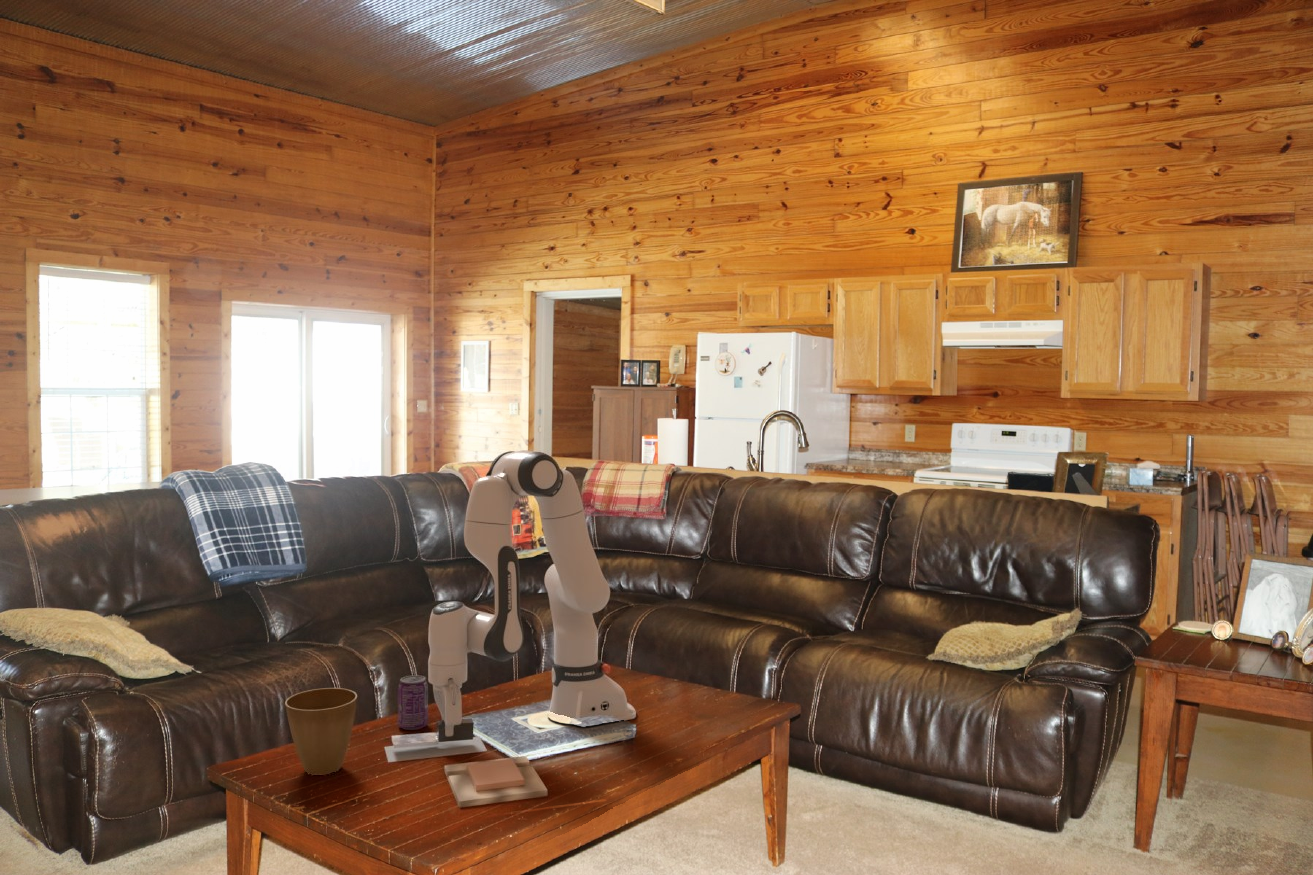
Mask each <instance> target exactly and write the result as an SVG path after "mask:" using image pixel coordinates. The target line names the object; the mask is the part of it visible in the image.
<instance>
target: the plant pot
mask: <svg viewBox="0 0 1313 875" xmlns="http://www.w3.org/2000/svg"><path fill="white" fill-rule="evenodd" d="M357 699H358V694H357V692H356V691H353V690H352V689H347V688H343V687H342V688H341V687H325V688H317V689H316V688H315V689H310V690H305V691H301V692H298V693H295V694H293V695H290V696H289V697H288V698H286V700H285V702H284V703H285V704H284V705H285V711H286V717H287V722H288V724H289V730H290V733H291V737H292V740H293V743H294V746H295V749H296V752H297V755H298V758H299V760H300V763H301V766H302V767H303V769H304V771H305V773H306V772H307V773H309V774H317V775H318V774H329V775H331V774H330V773H332V772H335V773H337V772H338V771H339V769H340V770H341V768H342V766H343V763H344V760H345V758H346V757H345V756H346V754H347V751H348V747H349V744H350V739H351V736H352V732H353V728H354V727H353V726H354V722H355V715H356V708H357ZM336 771H337V772H336ZM307 773H306V774H307ZM309 774H308V775H309ZM332 774H333V773H332Z"/></svg>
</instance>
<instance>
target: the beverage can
mask: <svg viewBox="0 0 1313 875" xmlns="http://www.w3.org/2000/svg"><path fill="white" fill-rule="evenodd" d="M397 688H398V690H397V693H398V694H397V696H398V697H397V708H398V710H397V711H398V712H397V713H398V715H397V718H398V719H397V720H398V721H397V723H398V724H397V725H398V727H399V728H402V729H403V730H406V731H417V730H421V729H422V728H424V727H425V726H427V725H428V724H429V700H428V699H429V686H428V683H427V677H426V676H424V675H417V674H416V675H415V674H414V675H413V674H412V675H406V676H403V677H401V678H400V679H399V685H398V687H397Z"/></svg>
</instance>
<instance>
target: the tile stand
mask: <svg viewBox="0 0 1313 875" xmlns="http://www.w3.org/2000/svg"><path fill="white" fill-rule="evenodd" d="M508 759H513V761H514V763H515V764H516V766H517V768H518V769H519V771H520V773H521V775H522V776H523V778H524V785H521V786H513V787H505V788H497V789H490V790H482V791H476V790H475V788H474V786H473V783H472V781H471V779H470V777H469V775H468V773H467V770H466V764H474V763H483V762H491V761H499V760H508ZM530 764H531V763H530V760H529V758H528V757H527V755H522V756H513V757H505V758H498V759H496V758H495V759H488V760H480V761H479V760H478V761H471V762H464V763H463V762H462V763H454V764H453V763H452V764H446V765H444V774H445V775H446V779H447V781H448V783H449V786H450V789H451V791H452V793H453V796H454V798H455V800H456V803H457V805H458V807H459V808H466V807H473V806H482V805H487V804H489V805H490V804H497V803H505V802H510V801H511V802H512V801H519V800H525V799H527V800H528V799H533V798H535V799H536V798H542V797H548V788H547V787H546V786H545V784H544V782H543V781H542V779H541V778H540V776H539V774H538V773H537V771H536V770H535V768H534V766H533V765H530Z"/></svg>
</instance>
